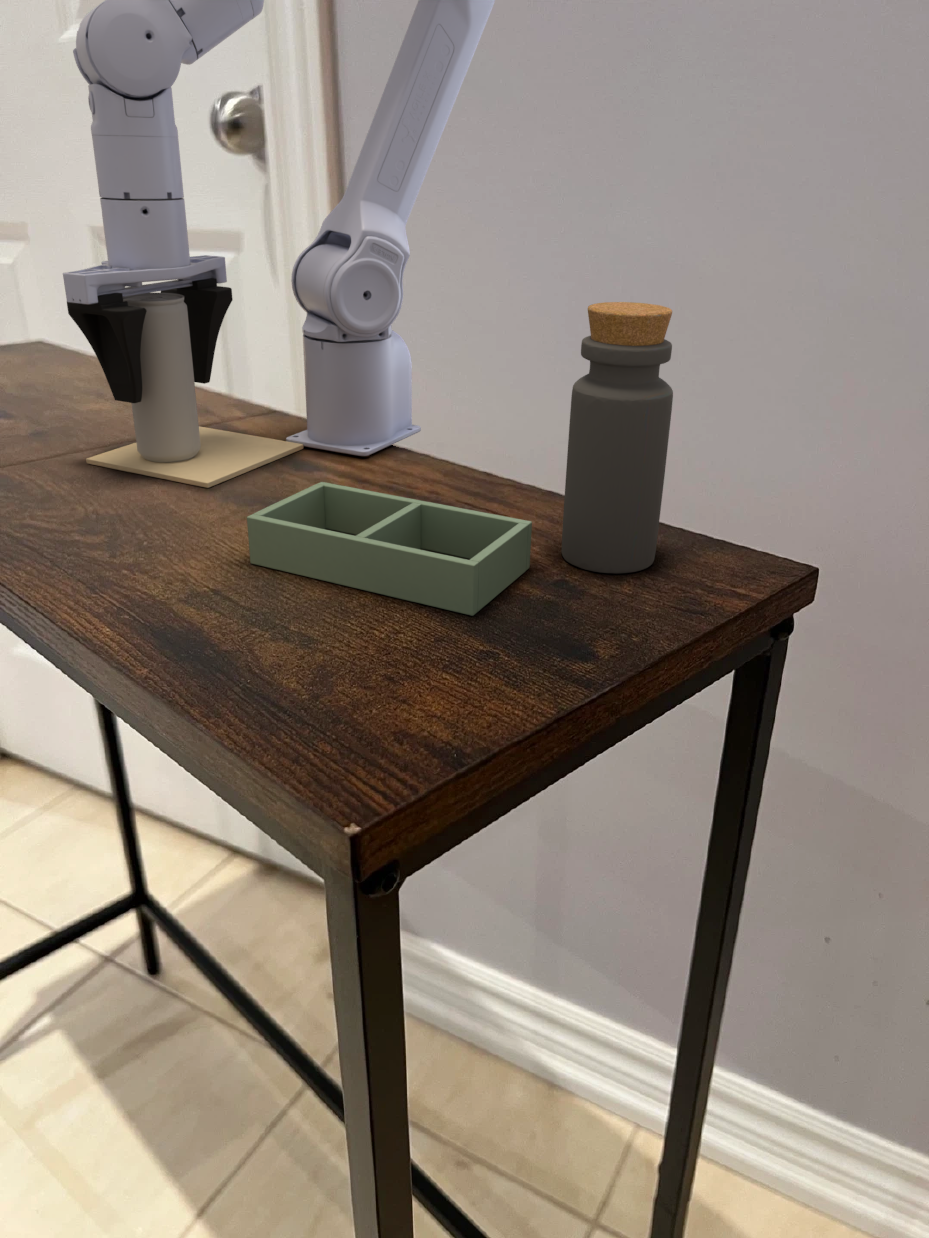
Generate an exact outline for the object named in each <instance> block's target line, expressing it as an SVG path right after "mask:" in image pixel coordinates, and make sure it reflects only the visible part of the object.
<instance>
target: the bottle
mask: <svg viewBox="0 0 929 1238" xmlns="http://www.w3.org/2000/svg"><path fill="white" fill-rule="evenodd" d="M587 315H588V316H587V317H588V323H589V332H590V335H588V336H585V337H584V338H582V340H581V345H580V356H581V357H582V358H583V359H585V360H587V361H589V370H588V373H587V374H585V375H583V376H582V377H580V378H578V379H577V380H576V381H575V382H574V384H573V385H572V390H571V400H570V410H569V411H570V412H569V427H568V439H567V456H566V470H565V482H564V483H565V485H564V499H563V512H562V513H563V515H562V529H561V556H562V557H563V559H564V560H565V561H566V562H567V563H569V564H571V565H572V566H574V567H578V568H580V569H582V570H586V571H589V572H596V573H601V574H616V575H617V574H628V573H629V574H630V573H635V572H639V571H643V570H646V569H648V568H649V567H651V565H653V564H654V561H655V557H656V551H657V543H658V535H659V527H660V518H661V509H662V502H663V501H662V500H663V493H664V484H665V475H666V466H667V457H668V447H669V438H670V430H671V429H670V428H671V421H672V412H673V401H674V390H673V388H672V386H671V385H670V384H669V383H668V382H666V380H664V379H663V378H661V377H660V368H661V365H664V364H667V363H668V362H670V361H671V358H672V352H673V351H672V350H673V344H672V342H671V341H669V340H668V339H665V338H666V335H667V331H668V328H669V325H670V322H671V318H672V315H673V310H672V309H671V308H670V307H668V306H664V305H660V304H653V303H648V302H647V303H646V302H632V301H631V302H630V301H606V302H597V303H593V304H590V305H588V307H587Z"/></svg>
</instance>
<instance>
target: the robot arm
mask: <svg viewBox="0 0 929 1238" xmlns="http://www.w3.org/2000/svg"><path fill="white" fill-rule="evenodd" d="M495 2H496V0H417V3H416V6H415V9H414V11H413V14H412V16H411V19H410V21H409V24H408V26H407V29H406V32H405V34H404V37H403V40H402V43H401V45H400V48H399V50H398V53H397V56H396V58H395V61H394V63H393V66H392V69H391V71H390V74H389V76H388V78H387V81H386V84H385V86H384V89H383V92H382V94H381V97H380V99H379V102H378V104H377V108H376V110H375V113H374V116H373V118H372V120H371V123H370V126H369V129H368V131H367V133H366V136H365V139H364V141H363V144H362V147H361V150H360V152H359V154H358V157H357V159H356V163H355V165H354V168H353V171H352V172H351V176H350V179H349V181H348V183H347V186H346V188H345V191H344V193H343V197H342V198H341V199H340V201H339V202H338V203H337V204H336V206H335V207H334V208H333V209H332V210H331V211H330V212H329V214H328V215H327V216H326V217H325V218H324V220H323V221H322V223H321V226H320V229H319V231H318V233H317V234H316V237H315V238H314V240H312V242H311V244H309V245H308V246H307V247H306V248H305V249H303V250H302V252H300V253H299V255H298V256H297V258H296V260H295V262H294V264H293V267H292V270H291V279H290V282H291V288H292V294H293V297H294V299H295V301H296V303H298V305H299V306H300V308H301V309H302V310H303V311H304V312H305V313H306V317H305V320H304V323H303V324H302V327H301V332H302V348H303V349H302V352H303V372H304V389H305V391H304V392H305V411H306V429H304V430H301V431H299V432H297V433H294V434H292V435H288V436H287V437H286V438H285V441H287V442H293V443H299V444H303V447H306V448H311V449H317V450H323V451H328V452H335V453H341V454H346V455H352V456H358V457H369V456H370V455H372V454H375V453H377V452H379V451H381V450H383V449H385V448H388V447H390V446H392V445H395V444H396V443H399V442H400V441H402V440H405V439H407V438H409V437H411V436H413V435H415V434H418V433H420V432H421V431H422V427H421V426H420V425H418V424H413V372H412V371H413V362H412V356H411V351H410V350H409V347H408V345H407V343H406V341H405V340H404V338H403V337H402V336H401V335H400V334H399V333H398V332H396V331H394V330H393V328H392V324H393V323H394V322H395V321H396V319H397V318H398V316H399V314H400V312H401V309H402V306H403V302H404V301H403V300H404V274H405V269H406V266H407V264H408V261H409V258H410V256H411V250H410V249H411V248H410V244H409V240H408V234H407V227H406V226H407V223H408V220H409V218H410V215H411V214H412V211H413V208H414V206H415V203H416V200H417V199H418V196H419V193H420V191H421V188H422V187H423V184H424V181H425V178H426V176H427V173H428V171H429V168H430V166H431V163H432V161H433V158H434V155H435V153H436V150H437V148H438V145H439V143H440V141H441V138H442V136H443V133H444V130H445V128H446V125H447V123H448V120H449V118H450V115H451V113H452V110H453V108H454V105H455V103H456V101H457V98H458V96H459V93H460V91H461V88H462V85H463V83H464V81H465V78H466V76H467V73H468V71H469V68H470V65H471V63H472V61H473V58H474V55H475V53H476V50H477V48H478V44H479V43H480V40H481V37H482V36H483V33H484V31H485V27H486V25H487V23H488V21H489V17H490V15H491V12H492V10H493V8H494V6H495ZM264 3H265V0H103V1H102V2H101V3H99V4H98V5H96V6H95V7H93V8H92V9H90V11H89V12H87V13H86V14H85V15H84V17H83V18H82V19H81V21H80V23H79V25H78V26H79V27H78V30H77V31H76V37H75V48H73V49H72V53H73V58H74V61H75V64H76V67H77V69H78V71H79V73H80V74H81V76H82V78H83V79H84V81H85V82H86V83H87V84H88V86H87V88H88V97H87V98H88V106H89V110H90V112H91V119H92V121H91V125H90V133H91V140H92V147H93V148H92V149H93V156H94V163H95V171H96V178H97V179H96V180H97V187H98V195H99V197H100V198H99V201H100V207H101V216H102V217H101V219H102V225H103V226H102V227H103V232H104V240H105V247H106V248H105V249H106V256H107V260H103V261H101V264H100V265H95V266H91V267H86V268H83V269H79V270H74V271H67V272H63V273H62V277H63V284H64V290H65V298H66V307H67V313H68V316H69V317H71V319H72V320H73V322H74V323H75V324H76V326H77V327H78V329H79V330H80V331H81V333H82V334H83V336H84V337H85V339H86V340H87V342H88V343H89V345H90V347H91V349H92V351H93V352H94V354H95V356H96V358H97V360H98V362H99V364H100V367H101V369H102V372H103V374H104V376H105V378H106V381H107V384H108V386H109V389H110V392H111V394H112V396H113V399H114V401H118V402H123V403H129V404H131V403H138V402H141V400H142V373H141V359H140V352H141V337H142V330H143V324H144V320H145V315H146V312H147V310H146V309H145V308H143V307H135V306H128V302H127V301H124V302H123V297H125V296H132V295H138V294H144V293H158V292H160V293H174V294H180V295H183V296H184V303H185V304H186V305H187V311H188V321H189V332H190V342H191V352H192V362H193V372H194V383H197V384H204V385H205V384H208V383H210V382H211V377H212V370H213V364H214V358H215V351H216V347H217V342H218V338H219V333H220V330H221V327H222V325H223V322H224V319H225V316H226V314H227V312H228V310H229V308H230V306H231V304H232V302H233V301H234V300H233V288H232V287H229V286H219V285H218V284H225V283H227V282H228V279H227V278H228V277H227V266H226V264H227V263H226V257H225V256H219V255H207V254H203V255H195V256H191V253H190V245H189V243H190V242H189V233H188V224H187V222H188V221H187V213H186V203H185V198H184V197H185V194H184V185H183V175H182V174H183V173H182V163H181V153H180V142H179V141H180V140H179V131H178V127H177V125H176V120H175V119H176V118H175V111H174V110H175V109H174V108H175V107H174V98H173V87H172V86H173V85H174V84H175V82H176V80H177V78H178V76H179V74H180V70H181V66H182V64H183V65H187V66H189V65H192V64H194V63H196V62H197V61H198V60H199V59H201V58H202V57H203V56H205V55H206V54H207V53H209V52H210V51H211V50H213V49H214V48H216V47H217V46H218V45H220V44H221V43H222V42H223V41H225V40H227V38H229V37H230V36H232V35H233V34H234V33H236V32H237V31H239V30H240V29H241V28H243V27H244V26H245V25H246V24H248V23H249V22H251V21H252V20H254V19H255V18H256V17H258V16H259V15H260V14H261V13H262V11H263V8H264ZM150 282H153V283H150ZM143 283H146V284H143Z"/></svg>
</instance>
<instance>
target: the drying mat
mask: <svg viewBox="0 0 929 1238" xmlns="http://www.w3.org/2000/svg"><path fill="white" fill-rule="evenodd" d="M199 433H200V444H201V448H200V450H199V452H198V453H197V454H196V456H195V457H193V458H191V459H188V460H184V461H179V462H168V463H163V462H153V461H149V460H146V459H145V458H143V457H142V455H141V454H140V453H139V452H138V450H137V443H136V442H133V443H130V444H127V445H124V446H120V447H117V448H115V449H111V450H108V451H106V452H102V453H99V454H97V455H96V454H95V455H93V456H90V457H86V458H85V460H86V464H88V465H93V466H98V467H103V468H108V469H112V470H118V471H122V472H127V473H132V474H138V475H142V476H146V477H152V478H156V479H162V480H166V481H171V482H177V483H182V484H187V485H191V486H196V487H202V488H205V489H209V488H212V487H214V486H216V485H218V484H221V483H224V482H226V481H229V480H231V479H233V478H235V477H238V476H241V475H243V474H245V473H248V472H250V471H253V470H255V469H258V468H260V467H263V466H265V465H267V464H271V463H272V462H274V461H277V460H279V459H282V458H285V457H288V456H289V455H291V454H294V453H297V452H300V451H301V450H304V446H303V444H299V443H293V442H287V441H286V440H281V439H276V438H275V439H274V438H270V437H265V436H264V437H263V436H257V435H252V434H246V433H242V432H241V433H240V432H235V431H228V430H224V429H223V430H222V429H217V428H212V427H205V426H200V425H199Z"/></svg>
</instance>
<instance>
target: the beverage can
mask: <svg viewBox="0 0 929 1238" xmlns="http://www.w3.org/2000/svg"><path fill="white" fill-rule="evenodd" d="M124 301H127V302H128V306H135V307H143V308H145V309H146V310H147V312H146V315H145V320H144V324H143V330H142V337H141V352H140V359H141V373H142V400H141V402H138V403H130V404H131V411H132V417H133V419H132V420H133V428H134V434H135V443H137V450H138V452H139V453H140V454H141V455H142V457H143V458H145V459H146V460H149V461H153V462H163V463H168V462H179V461H184V460H188V459H191V458H193V457H195V456H196V454H197V453H198V452H199V450H200V448H201V444H200V433H199V426H200V424H199V415H198V414H199V413H198V405H197V404H198V403H197V394H196V382H194V372H193V362H192V352H191V342H190V332H189V321H188V311H187V305H186V304H185V303H184V296H183V295H180V294H174V293H161V292H151V293H144V294H138V295H132V296H125V297H123V302H124Z"/></svg>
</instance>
